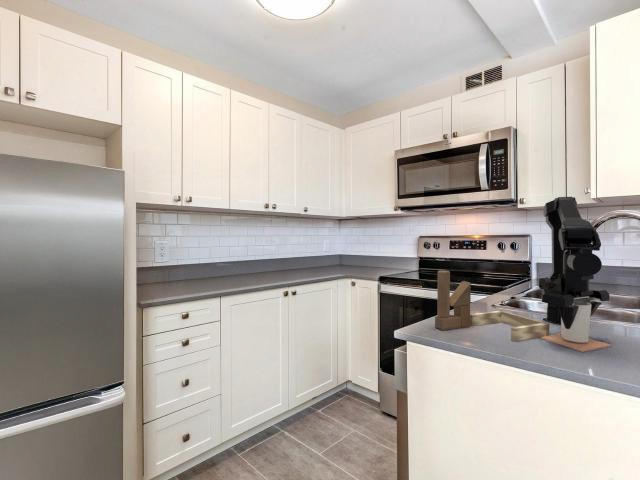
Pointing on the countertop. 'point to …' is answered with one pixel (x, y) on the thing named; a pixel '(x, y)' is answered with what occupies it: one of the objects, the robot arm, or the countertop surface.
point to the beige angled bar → (513, 324)
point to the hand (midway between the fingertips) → (574, 327)
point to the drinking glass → (578, 324)
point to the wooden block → (452, 303)
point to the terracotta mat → (576, 343)
